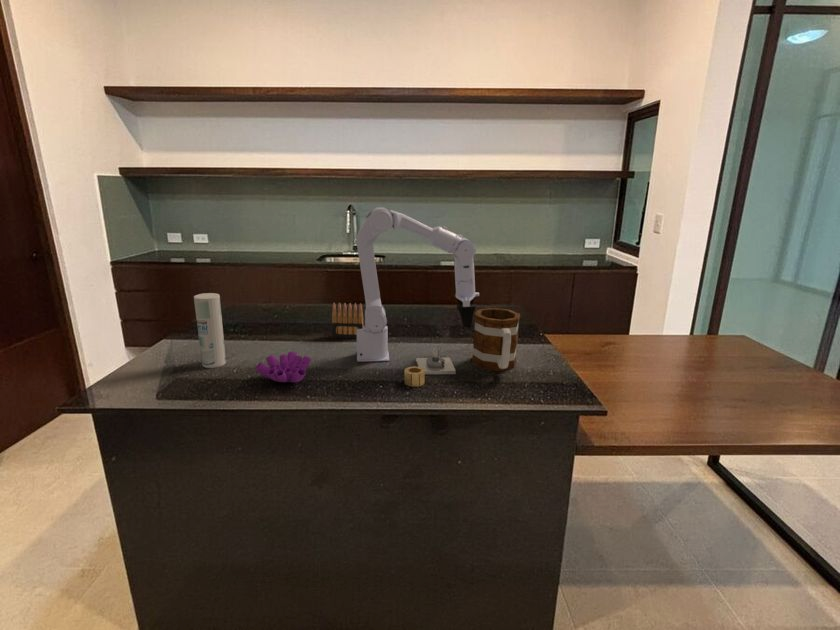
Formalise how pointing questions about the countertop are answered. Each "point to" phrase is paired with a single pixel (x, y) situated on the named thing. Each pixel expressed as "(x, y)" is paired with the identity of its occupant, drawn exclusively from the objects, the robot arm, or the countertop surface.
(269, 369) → the purple tube coral
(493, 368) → the mug
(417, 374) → the brass ring
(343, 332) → the ammunition clip
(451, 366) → the piston stand
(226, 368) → the countertop surface
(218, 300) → the spray can
